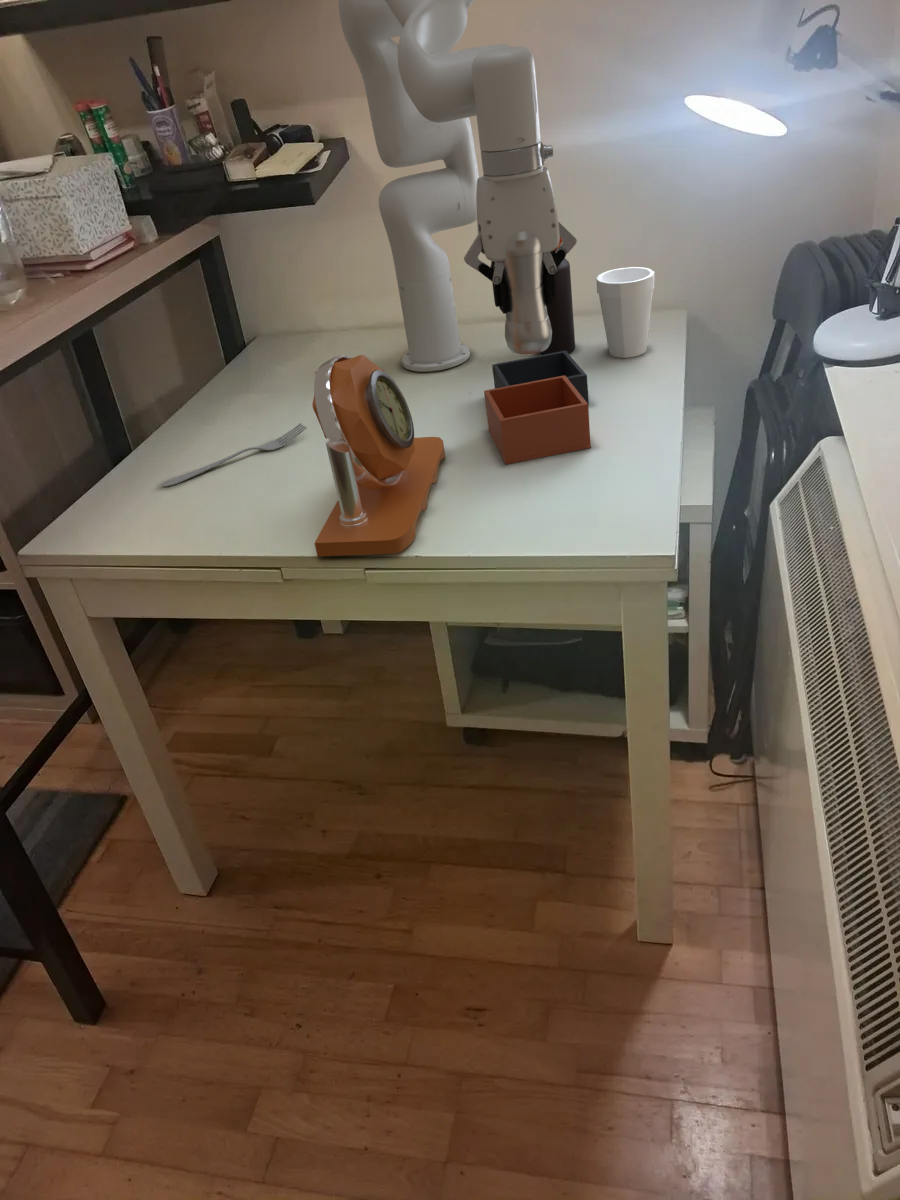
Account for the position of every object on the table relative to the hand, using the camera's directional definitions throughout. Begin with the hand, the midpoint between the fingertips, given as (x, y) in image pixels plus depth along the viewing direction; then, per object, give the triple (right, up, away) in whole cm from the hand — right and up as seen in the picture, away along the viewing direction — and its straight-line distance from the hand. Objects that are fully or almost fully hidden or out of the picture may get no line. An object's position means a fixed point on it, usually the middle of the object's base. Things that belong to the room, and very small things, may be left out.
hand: (525, 305), depth 127 cm
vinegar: (+9, +5, +41) cm, 43 cm away
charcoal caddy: (+4, -8, +23) cm, 25 cm away
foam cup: (+21, +3, +36) cm, 42 cm away
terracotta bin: (+3, -16, +10) cm, 20 cm away
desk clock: (-19, -27, +1) cm, 32 cm away
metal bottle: (+1, -6, +4) cm, 7 cm away
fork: (-43, -18, +20) cm, 51 cm away
